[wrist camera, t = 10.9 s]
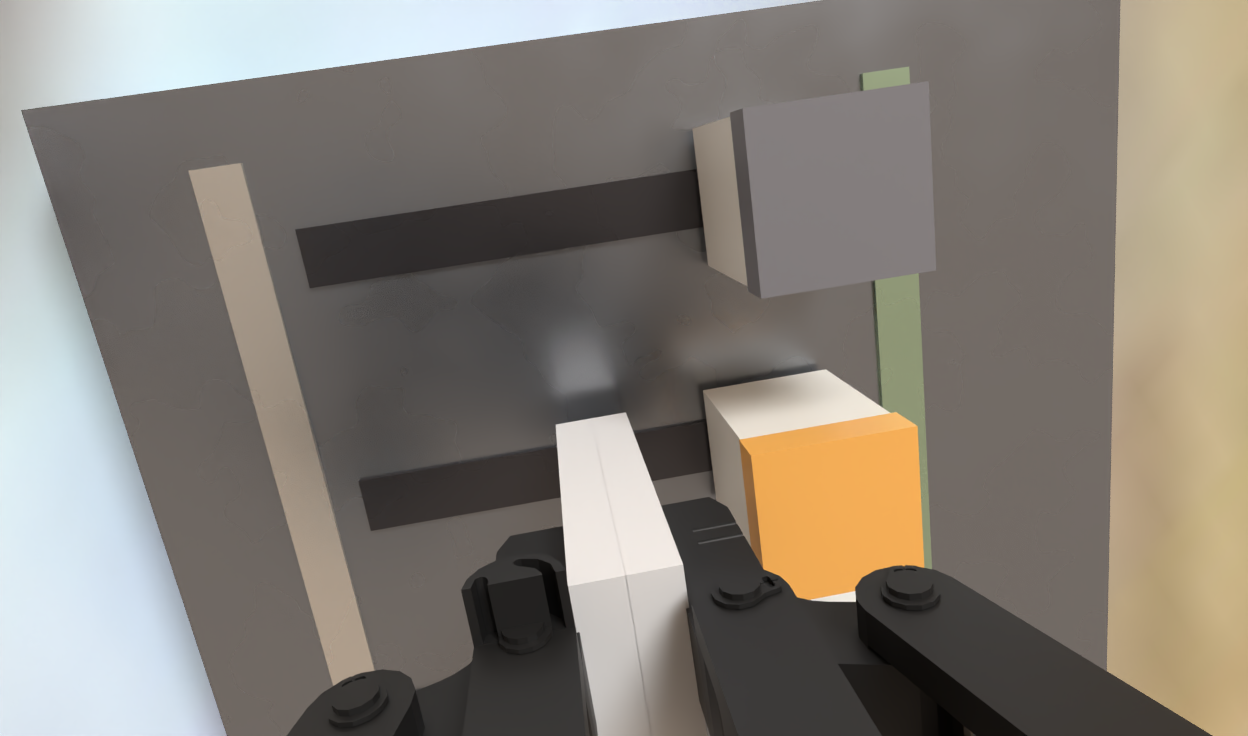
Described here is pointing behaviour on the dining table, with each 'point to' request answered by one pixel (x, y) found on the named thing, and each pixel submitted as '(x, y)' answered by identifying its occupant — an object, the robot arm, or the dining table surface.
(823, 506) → the tripped breaker
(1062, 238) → the panel
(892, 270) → the block
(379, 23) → the dining table surface
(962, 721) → the robot arm
